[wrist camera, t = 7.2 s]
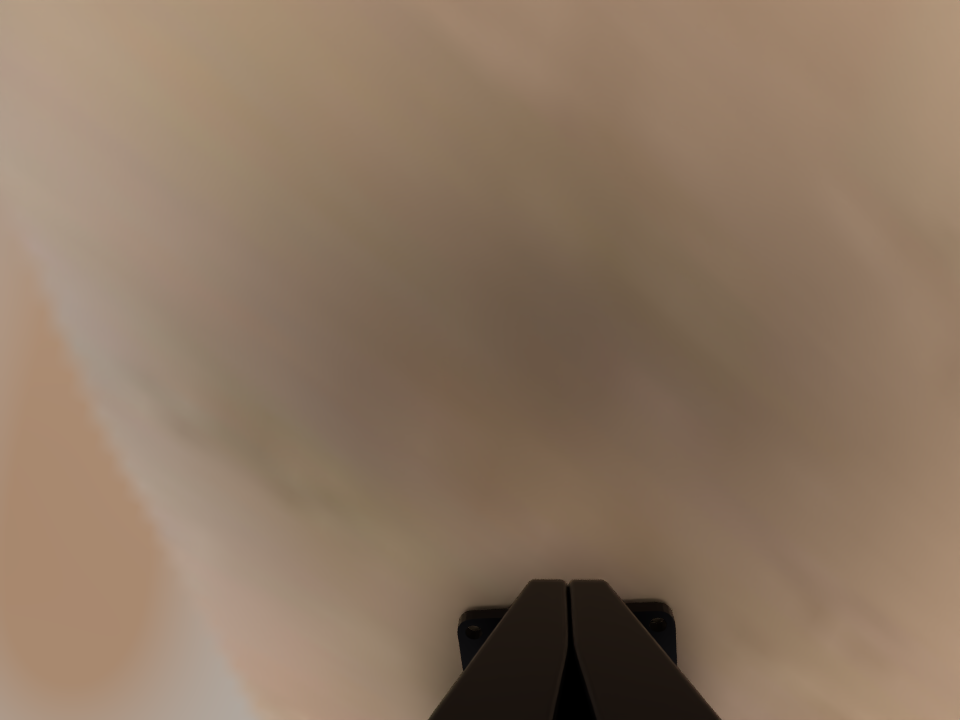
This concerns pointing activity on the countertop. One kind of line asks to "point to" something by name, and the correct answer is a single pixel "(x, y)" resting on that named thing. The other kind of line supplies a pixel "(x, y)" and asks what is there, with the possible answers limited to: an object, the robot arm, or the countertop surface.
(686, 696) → the robot arm
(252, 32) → the countertop surface
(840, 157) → the countertop surface
